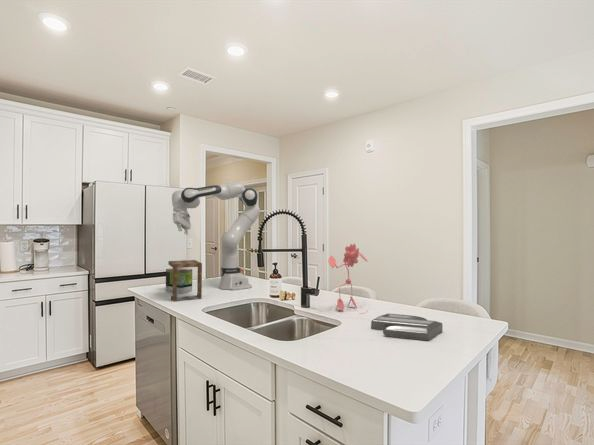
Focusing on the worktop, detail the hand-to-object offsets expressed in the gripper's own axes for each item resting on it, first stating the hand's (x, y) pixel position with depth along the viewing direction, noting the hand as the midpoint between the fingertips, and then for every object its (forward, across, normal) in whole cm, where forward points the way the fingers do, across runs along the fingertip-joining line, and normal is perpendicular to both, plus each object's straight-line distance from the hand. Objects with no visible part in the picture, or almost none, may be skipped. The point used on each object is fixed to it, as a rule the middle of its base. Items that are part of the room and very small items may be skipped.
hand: (183, 232), depth 222 cm
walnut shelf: (+43, -8, +2) cm, 44 cm away
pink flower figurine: (+74, -27, -93) cm, 122 cm away
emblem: (+87, -55, -111) cm, 152 cm away
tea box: (+37, +6, +11) cm, 39 cm away
